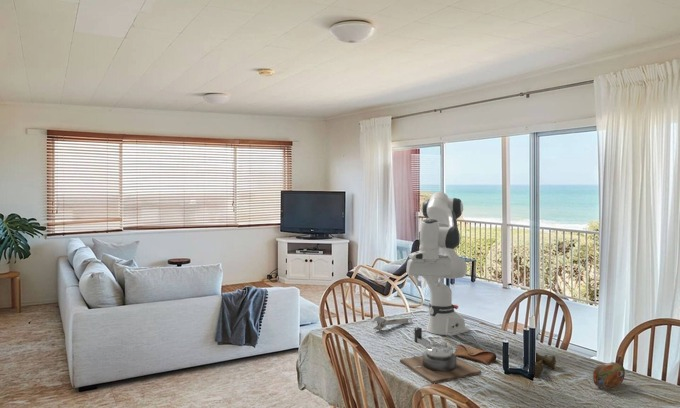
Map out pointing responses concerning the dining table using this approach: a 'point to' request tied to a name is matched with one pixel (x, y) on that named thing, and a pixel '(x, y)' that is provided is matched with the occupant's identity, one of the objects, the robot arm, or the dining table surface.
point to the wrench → (388, 322)
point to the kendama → (540, 360)
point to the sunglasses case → (475, 355)
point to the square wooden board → (439, 368)
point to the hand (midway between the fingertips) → (428, 285)
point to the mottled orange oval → (608, 375)
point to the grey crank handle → (434, 347)
